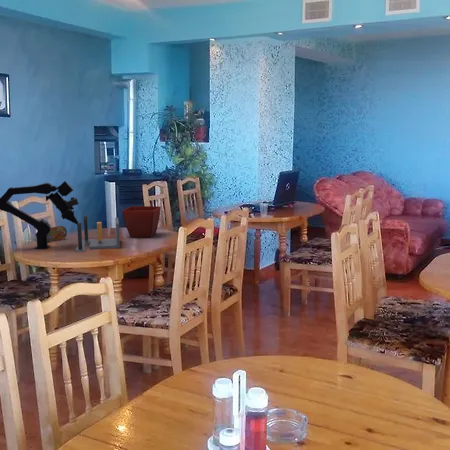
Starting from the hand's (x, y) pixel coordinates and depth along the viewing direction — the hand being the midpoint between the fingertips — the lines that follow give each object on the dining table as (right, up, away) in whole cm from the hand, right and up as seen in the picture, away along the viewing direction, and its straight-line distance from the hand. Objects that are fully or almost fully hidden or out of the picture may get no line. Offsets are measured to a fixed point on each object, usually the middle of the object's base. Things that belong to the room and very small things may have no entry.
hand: (77, 223), depth 336 cm
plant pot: (+31, -7, +33) cm, 46 cm away
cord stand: (+3, -12, +3) cm, 13 cm away
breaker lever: (+11, -10, +4) cm, 15 cm away
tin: (-18, -10, +19) cm, 28 cm away
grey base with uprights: (+14, -12, +5) cm, 19 cm away
